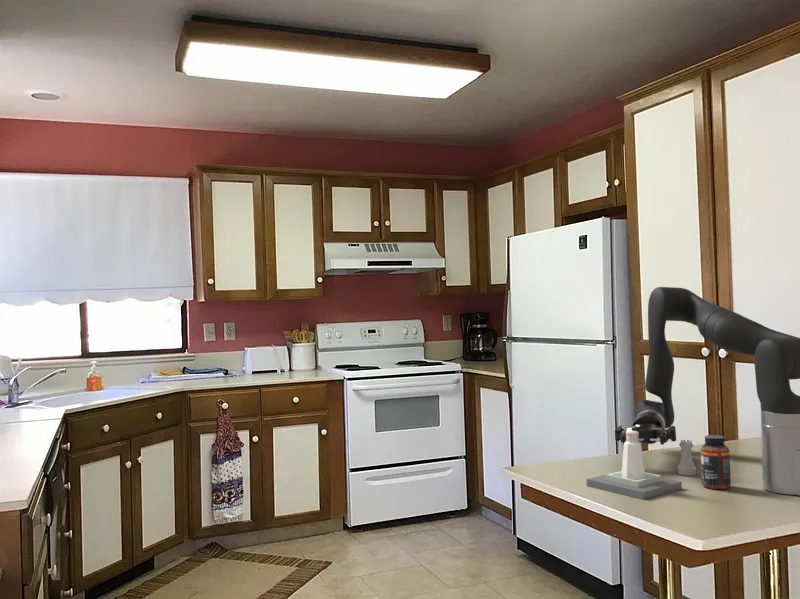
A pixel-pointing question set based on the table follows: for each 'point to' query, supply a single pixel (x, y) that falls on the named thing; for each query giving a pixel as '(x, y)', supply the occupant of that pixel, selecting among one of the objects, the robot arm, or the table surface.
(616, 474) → the baseplate
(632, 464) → the pepper shaker
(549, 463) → the table surface
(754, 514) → the table surface
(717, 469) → the supplement bottle
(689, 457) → the rook chess piece
